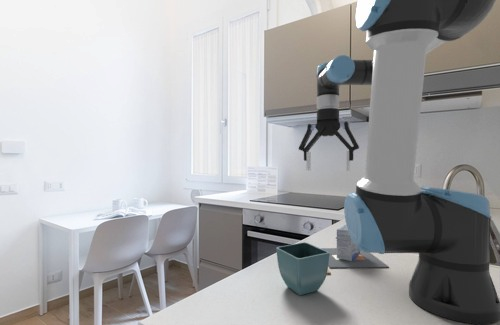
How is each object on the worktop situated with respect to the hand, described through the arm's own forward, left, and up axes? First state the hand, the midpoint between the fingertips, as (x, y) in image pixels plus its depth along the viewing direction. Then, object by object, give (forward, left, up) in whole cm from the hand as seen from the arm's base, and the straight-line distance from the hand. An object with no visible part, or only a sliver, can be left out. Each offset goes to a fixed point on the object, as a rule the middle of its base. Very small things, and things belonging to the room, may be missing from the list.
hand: (327, 170), depth 100 cm
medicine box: (-15, -2, -25) cm, 29 cm away
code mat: (-15, -2, -25) cm, 29 cm away
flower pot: (-35, +16, -25) cm, 46 cm away
